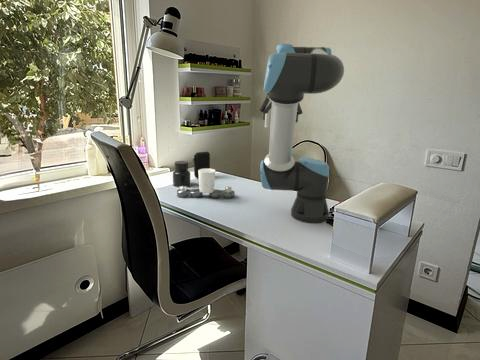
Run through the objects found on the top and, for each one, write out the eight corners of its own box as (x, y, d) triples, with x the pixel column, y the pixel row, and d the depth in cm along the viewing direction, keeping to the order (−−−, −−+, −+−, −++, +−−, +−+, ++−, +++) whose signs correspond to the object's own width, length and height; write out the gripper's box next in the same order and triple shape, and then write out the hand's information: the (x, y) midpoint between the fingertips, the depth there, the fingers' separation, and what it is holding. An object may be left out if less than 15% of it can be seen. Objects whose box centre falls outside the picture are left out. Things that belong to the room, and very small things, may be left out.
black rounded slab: (194, 179, 177) (194, 153, 173) (191, 178, 179) (191, 152, 175) (210, 177, 183) (211, 151, 179) (208, 175, 186) (208, 150, 181)
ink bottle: (186, 181, 174) (185, 159, 170) (194, 185, 167) (193, 162, 164) (169, 183, 168) (168, 161, 165) (176, 188, 161) (176, 165, 158)
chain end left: (202, 198, 148) (202, 188, 146) (176, 197, 147) (175, 188, 146) (203, 194, 153) (203, 185, 152) (178, 193, 153) (177, 184, 152)
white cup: (196, 193, 147) (195, 171, 144) (201, 188, 154) (201, 167, 152) (212, 194, 145) (212, 173, 143) (217, 189, 153) (217, 169, 150)
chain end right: (234, 198, 148) (234, 189, 147) (208, 198, 148) (208, 189, 147) (234, 194, 154) (234, 185, 153) (209, 194, 154) (209, 185, 152)
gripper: (311, 82, 142) (307, 129, 148) (261, 81, 154) (259, 125, 160) (306, 81, 136) (302, 131, 142) (254, 80, 147) (252, 126, 153)
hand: (279, 128), depth 151 cm, fingers open, 13 cm apart
